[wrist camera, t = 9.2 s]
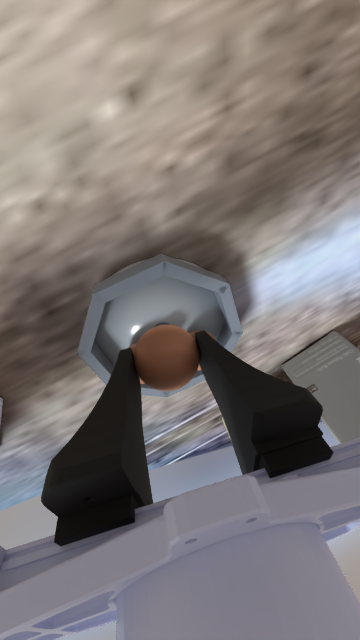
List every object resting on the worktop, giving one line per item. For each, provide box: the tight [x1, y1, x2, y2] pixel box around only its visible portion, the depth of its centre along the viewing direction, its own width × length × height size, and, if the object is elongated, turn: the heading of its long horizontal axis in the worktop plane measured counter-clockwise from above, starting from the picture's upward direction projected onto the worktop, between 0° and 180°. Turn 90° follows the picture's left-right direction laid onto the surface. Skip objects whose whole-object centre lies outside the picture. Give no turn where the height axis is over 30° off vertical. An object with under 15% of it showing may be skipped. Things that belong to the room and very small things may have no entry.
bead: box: [134, 325, 200, 391], centre depth 13 cm, size 4×4×4 cm
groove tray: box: [77, 254, 243, 397], centre depth 22 cm, size 14×14×3 cm
